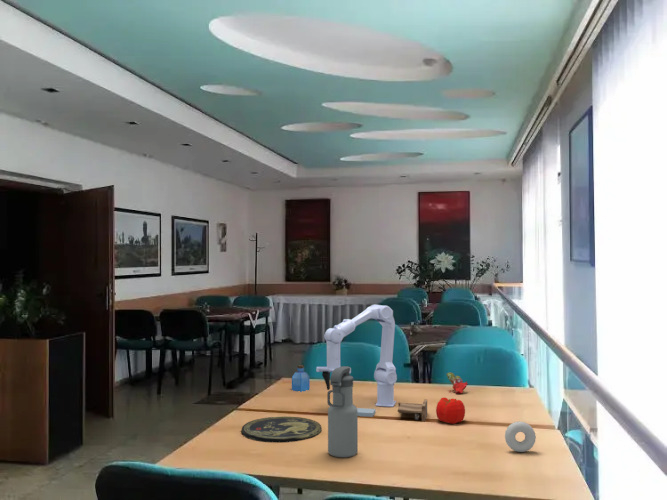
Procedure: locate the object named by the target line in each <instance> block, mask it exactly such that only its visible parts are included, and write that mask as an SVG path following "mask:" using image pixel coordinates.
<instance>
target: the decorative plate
mask: <svg viewBox="0 0 667 500" xmlns="http://www.w3.org/2000/svg"><path fill="white" fill-rule="evenodd" d="M240 431H241V434H242V436H243V437H245V438H247V439H249V440H253V441H256V442H263V443H274V444H275V443H277V444H278V443H294V442H300V441H305V440H309V439H312V438H315V437H317V436H319V435H320V434H321V433H322V431H323V429H322V424H320V423H319V422H318V421H316V420H313V419H310V418H306V417H301V416H270V417H269V416H268V417H261V418H257V419H253V420H250V421H248V422H246V423H245V424H243V425H242V427H241V430H240Z"/></svg>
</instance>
